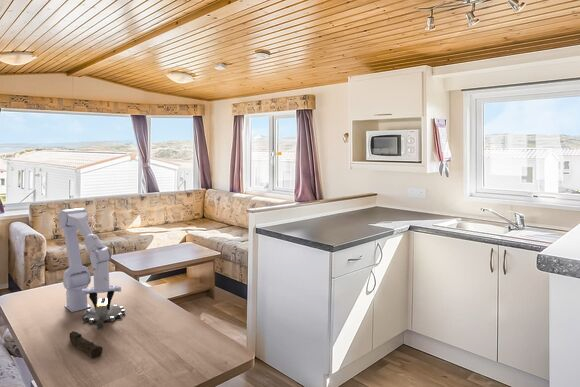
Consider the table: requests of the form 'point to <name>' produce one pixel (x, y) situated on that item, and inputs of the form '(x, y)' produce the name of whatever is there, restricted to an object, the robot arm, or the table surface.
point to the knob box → (102, 309)
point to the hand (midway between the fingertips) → (102, 309)
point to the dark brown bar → (85, 345)
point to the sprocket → (113, 314)
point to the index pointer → (100, 324)
